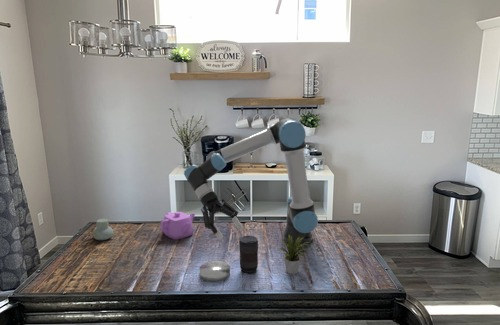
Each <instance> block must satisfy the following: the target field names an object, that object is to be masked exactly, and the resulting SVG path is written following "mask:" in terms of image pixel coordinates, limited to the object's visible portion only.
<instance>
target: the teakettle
mask: <svg viewBox="0 0 500 325" xmlns="http://www.w3.org/2000/svg"><path fill="white" fill-rule="evenodd" d="M195 216H196V214H195V213H190V215H188V214H187V213H185V212H182V211H175V212H171V211H170V212H166V214H165V215H164V217H163V220H160V227H159V228H160V231H161V232H162V233H163V234H164V235H165V236H166V237H168V238H170V239H172V240H174V241H178V240H180V239H181V240H182V239H185V238H188V237H191V236H193V234H194V226H193V221H194V219H195Z"/></svg>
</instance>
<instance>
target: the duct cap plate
mask: <svg viewBox="0 0 500 325" xmlns="http://www.w3.org/2000/svg"><path fill="white" fill-rule="evenodd" d="M230 275H231V266H230V265H229V264H228V263H227V262H224V261H221V260H211V261H207V262H204V263H203V264H201V265H200V266H199V277H200V279H201V280H203V281H205V282H208V283H219V282H224V281H226V280H227V279H229V277H230Z"/></svg>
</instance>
